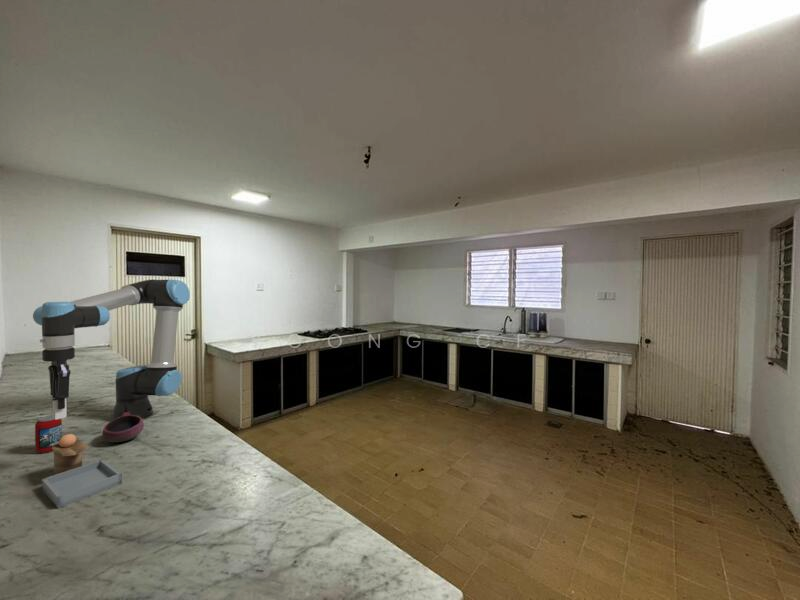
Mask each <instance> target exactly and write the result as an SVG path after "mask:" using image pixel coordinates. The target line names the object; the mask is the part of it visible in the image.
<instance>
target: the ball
mask: <svg viewBox="0 0 800 600" xmlns="http://www.w3.org/2000/svg"><path fill="white" fill-rule="evenodd" d="M76 438H77V437H76V435H75V434H73V433H67V434H65V435H62V437H61V438H60V440H59V445H60V446H61V447H70V446H72V445H73V444H74V443H75V442H76Z"/></svg>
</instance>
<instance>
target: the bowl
mask: <svg viewBox="0 0 800 600" xmlns="http://www.w3.org/2000/svg"><path fill="white" fill-rule="evenodd" d="M144 427H145V425H144V418H143V419H142V418H141V417H139V416H136V415H131V414H130V413H129V412H125V413H123V414H122V416H121V417H118V418H116V419H114V420H112V421H109V422H107V424H105V426H104V427H103V429H102V434H101V435H102V438H103V440H104V441H106V442H109V443H122V442H125V441H130V440H132V439H135V438H136V437H138V436H139V434H141V432H142V431H143V430H144Z"/></svg>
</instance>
